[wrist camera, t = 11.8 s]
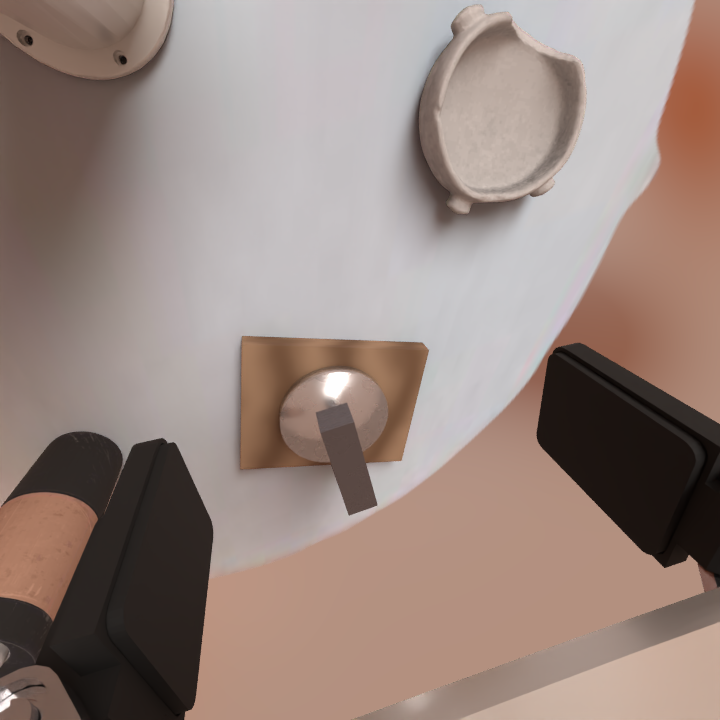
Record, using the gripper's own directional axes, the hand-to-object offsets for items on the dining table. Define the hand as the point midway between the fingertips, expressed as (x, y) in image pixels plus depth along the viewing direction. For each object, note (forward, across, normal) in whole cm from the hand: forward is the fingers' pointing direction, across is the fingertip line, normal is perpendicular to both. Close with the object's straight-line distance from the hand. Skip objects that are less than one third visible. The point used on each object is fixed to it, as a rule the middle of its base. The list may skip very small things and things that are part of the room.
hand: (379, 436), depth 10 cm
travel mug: (+31, +26, +20) cm, 45 cm away
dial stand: (+30, -1, +20) cm, 36 cm away
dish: (+31, -19, -6) cm, 37 cm away
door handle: (+28, -1, +21) cm, 35 cm away
